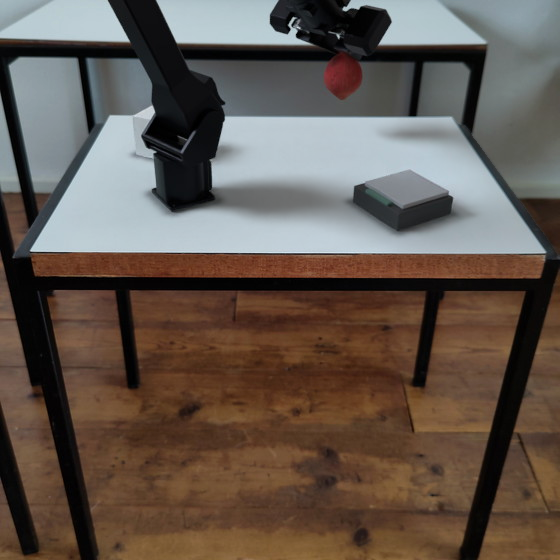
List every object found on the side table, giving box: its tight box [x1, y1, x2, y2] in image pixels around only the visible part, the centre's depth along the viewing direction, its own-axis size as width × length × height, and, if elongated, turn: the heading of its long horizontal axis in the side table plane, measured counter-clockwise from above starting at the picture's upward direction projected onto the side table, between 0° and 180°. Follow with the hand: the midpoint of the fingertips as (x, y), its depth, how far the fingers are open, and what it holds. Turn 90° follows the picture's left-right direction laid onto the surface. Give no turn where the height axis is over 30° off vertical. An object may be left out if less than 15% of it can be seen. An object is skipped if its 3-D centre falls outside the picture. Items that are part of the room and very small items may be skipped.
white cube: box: [131, 104, 186, 160], centre depth 102 cm, size 6×6×6 cm
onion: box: [323, 52, 363, 101], centre depth 105 cm, size 6×6×8 cm
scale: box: [352, 169, 454, 232], centre depth 89 cm, size 9×9×3 cm
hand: (350, 55), depth 105 cm, fingers closed on onion, 3 cm apart
